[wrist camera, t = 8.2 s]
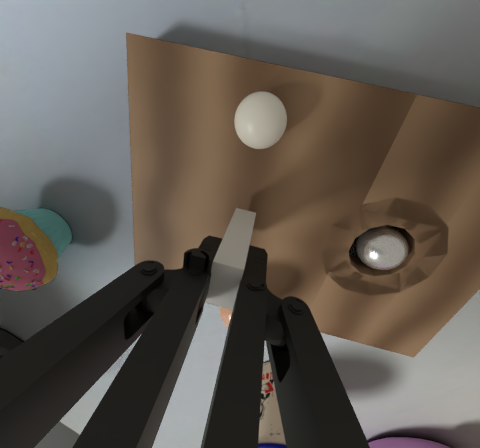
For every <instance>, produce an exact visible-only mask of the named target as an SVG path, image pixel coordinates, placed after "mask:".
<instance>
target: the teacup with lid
mask: <svg viewBox="0 0 480 448" xmlns="http://www.w3.org/2000/svg"><path fill="white" fill-rule="evenodd" d="M258 448H287V447H286V442H285V437H284V432H283V426H282V421H281V416H280V411H279V406H278V401H277V396H276V390H275V385H274V380H273V375H272V370H271V365H270V362H266V363H263V373H262V390H261V406H260V423H259V439H258Z"/></svg>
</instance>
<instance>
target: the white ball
mask: <svg viewBox="0 0 480 448" xmlns="http://www.w3.org/2000/svg"><path fill="white" fill-rule="evenodd" d="M234 124H235V129H236V132H237V135H238V137H239V138H240V140H241V141H242V142H243V143H244V144H246V145H247V146H249V147H251V148H254V149H265V148H268V147H271V146H273V145H274V144H275V143H277V142H278V141H279V140H280V138H281V137H282V135H283V134H284V131H285V129H286V125H287V114H286V110H285V107H284V105H283V103H282V102H281V101H280V99H279V98H278V97H276V96H275V95H273V94H271V93H269V92H263V91H260V92H255V93H252V94H250V95H248V96H247V97H245V98H244V99H243V100H242V101H241V103H240V104H239V106H238V108H237V110H236V113H235V119H234Z"/></svg>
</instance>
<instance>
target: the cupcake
mask: <svg viewBox="0 0 480 448" xmlns="http://www.w3.org/2000/svg"><path fill="white" fill-rule="evenodd" d="M71 240H72V233H71V230H70V227H69V226H68V224H67V223H66V221H65V220H64V219H63V218H62V217H61V216H59V215H58V214H57V213H55V212H53V211H51V210H48V209H43V208H40V209H31V210H19V211H11V210H8V209H5V208H2V207H0V289H9V290H14V291H19V292H20V291H23V290H30V289H32V290H35V289H36V288H37V287H40V286H41V285H44V284H46V283H48V282H50V281H52V280H53V279H54V278H55V276H56V275H57V270H58V263H57V260H58V258H59V257H60V255H61V254H62V253H63V251H64V250H65V249H66V247H67V246H68V245H69V244H70V242H71ZM34 288H35V289H34Z"/></svg>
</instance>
